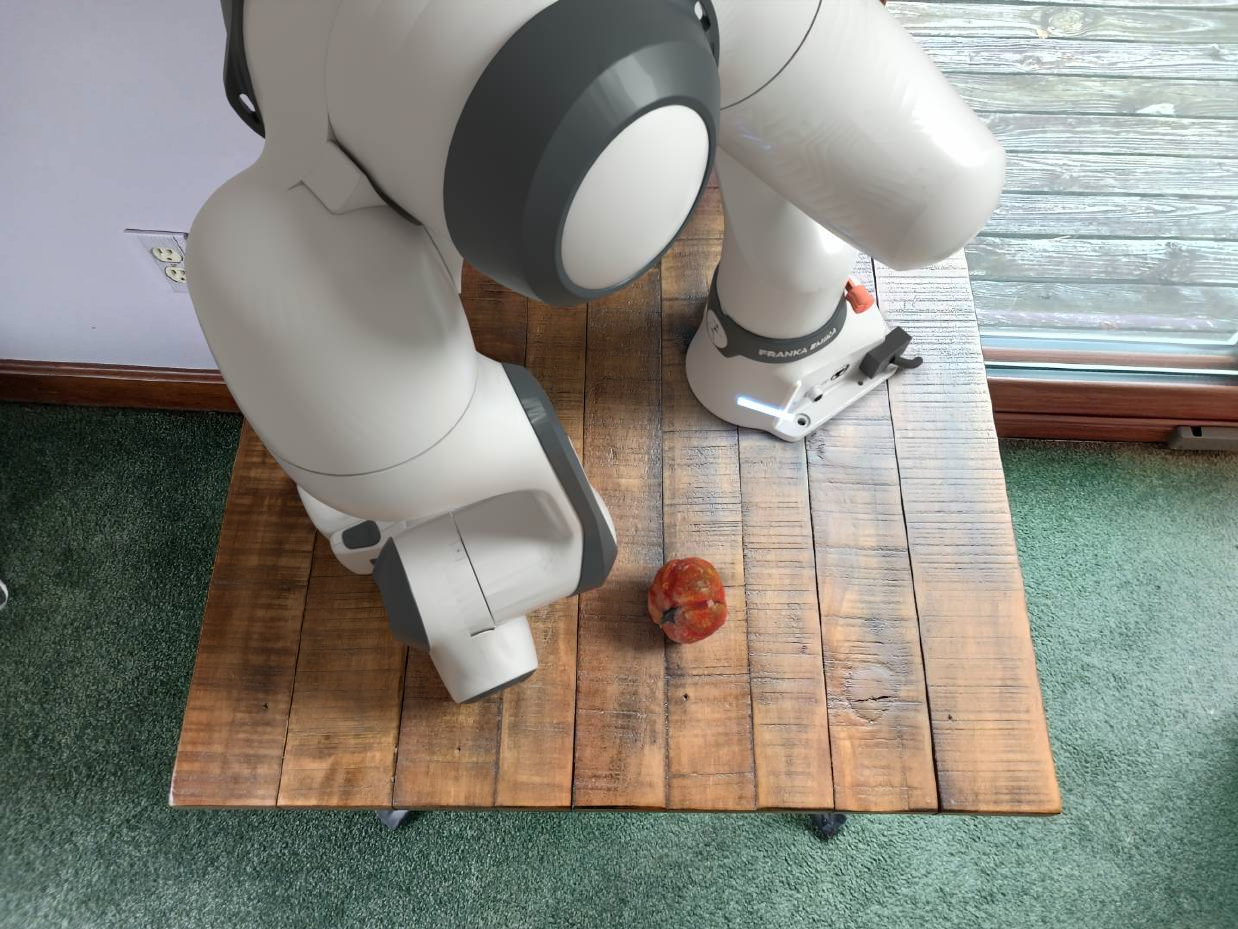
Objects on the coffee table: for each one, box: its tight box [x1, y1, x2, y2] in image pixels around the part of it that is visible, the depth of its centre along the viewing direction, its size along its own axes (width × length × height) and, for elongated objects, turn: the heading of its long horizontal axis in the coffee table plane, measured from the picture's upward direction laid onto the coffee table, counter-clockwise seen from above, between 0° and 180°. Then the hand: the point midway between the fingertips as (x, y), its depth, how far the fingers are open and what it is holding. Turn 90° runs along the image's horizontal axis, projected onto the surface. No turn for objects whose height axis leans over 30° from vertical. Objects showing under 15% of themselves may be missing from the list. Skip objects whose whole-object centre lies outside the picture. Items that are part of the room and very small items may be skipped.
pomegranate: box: [647, 556, 728, 645], centre depth 72 cm, size 7×7×10 cm
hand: (388, 401), depth 77 cm, fingers closed
